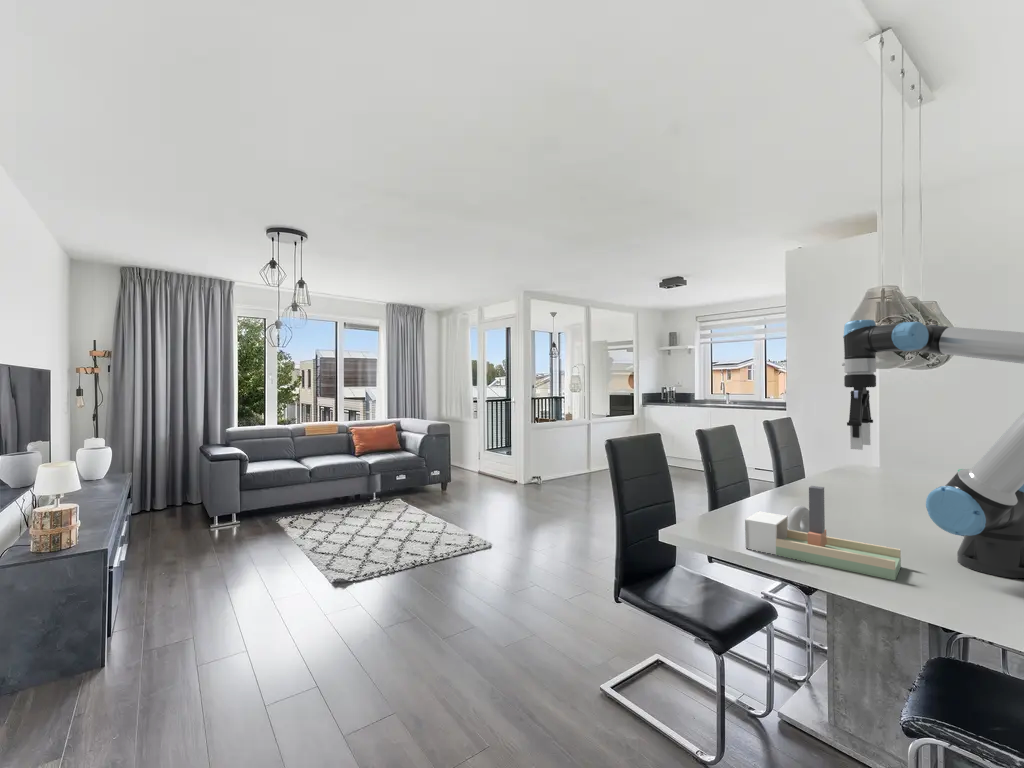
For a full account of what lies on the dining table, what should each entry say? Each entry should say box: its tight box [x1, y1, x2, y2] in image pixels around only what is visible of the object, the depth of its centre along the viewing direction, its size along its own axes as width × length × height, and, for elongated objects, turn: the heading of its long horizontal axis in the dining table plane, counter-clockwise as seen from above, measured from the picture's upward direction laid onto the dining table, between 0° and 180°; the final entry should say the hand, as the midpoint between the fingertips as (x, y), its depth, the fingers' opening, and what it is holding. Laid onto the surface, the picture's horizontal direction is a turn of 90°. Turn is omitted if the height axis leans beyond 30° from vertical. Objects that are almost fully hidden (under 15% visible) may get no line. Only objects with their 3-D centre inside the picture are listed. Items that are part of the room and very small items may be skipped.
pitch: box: [744, 510, 902, 581], centre depth 133 cm, size 34×12×8 cm, turn 46°
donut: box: [788, 505, 809, 533], centre depth 150 cm, size 10×3×10 cm, turn 122°
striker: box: [808, 485, 827, 547], centre depth 134 cm, size 3×7×16 cm, turn 137°
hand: (860, 447), depth 142 cm, fingers open, 13 cm apart
